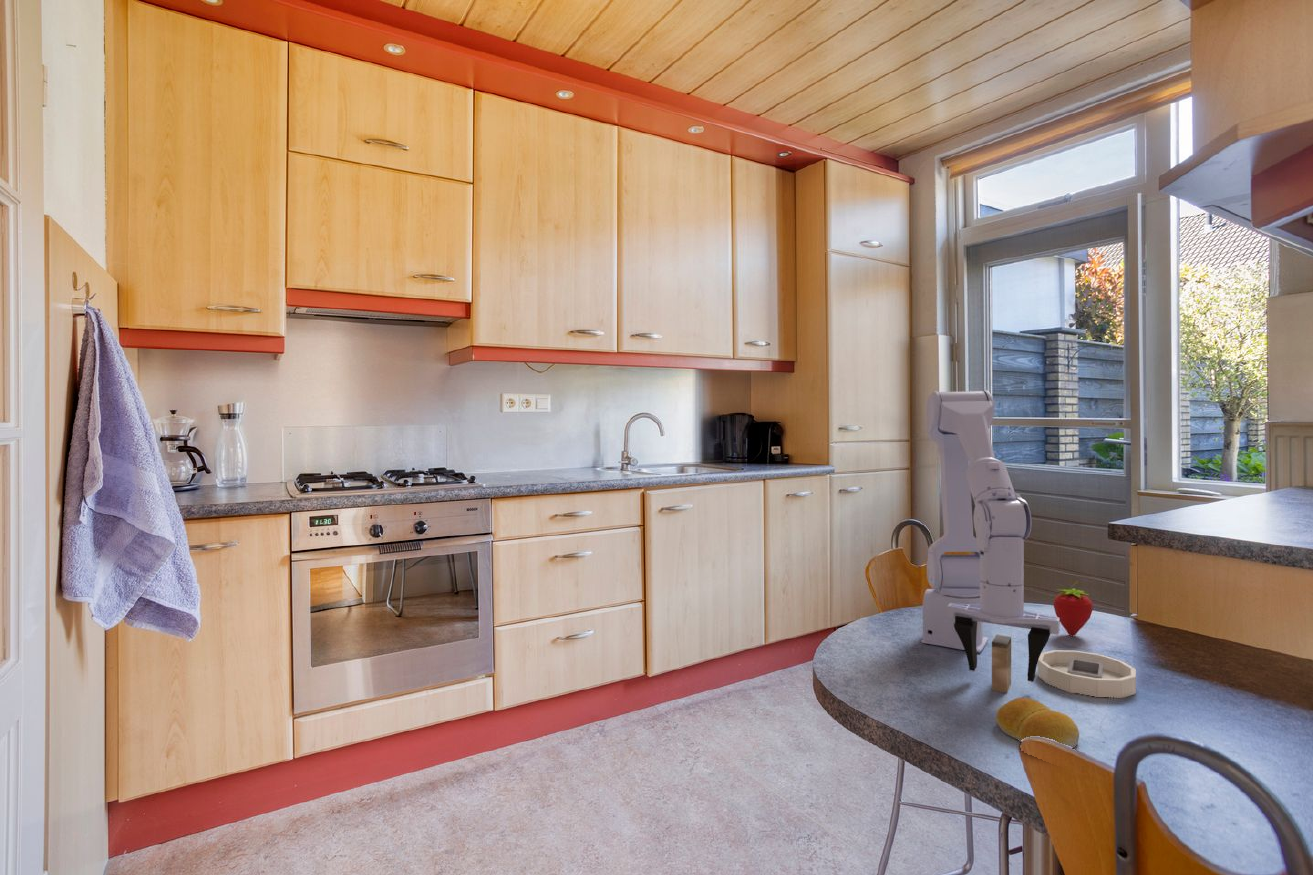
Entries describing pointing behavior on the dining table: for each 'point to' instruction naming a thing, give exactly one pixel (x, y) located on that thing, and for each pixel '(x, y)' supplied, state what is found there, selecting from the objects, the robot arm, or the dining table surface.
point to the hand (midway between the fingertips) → (1001, 673)
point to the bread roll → (1036, 722)
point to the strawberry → (1073, 609)
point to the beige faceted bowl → (1087, 673)
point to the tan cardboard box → (1001, 663)
